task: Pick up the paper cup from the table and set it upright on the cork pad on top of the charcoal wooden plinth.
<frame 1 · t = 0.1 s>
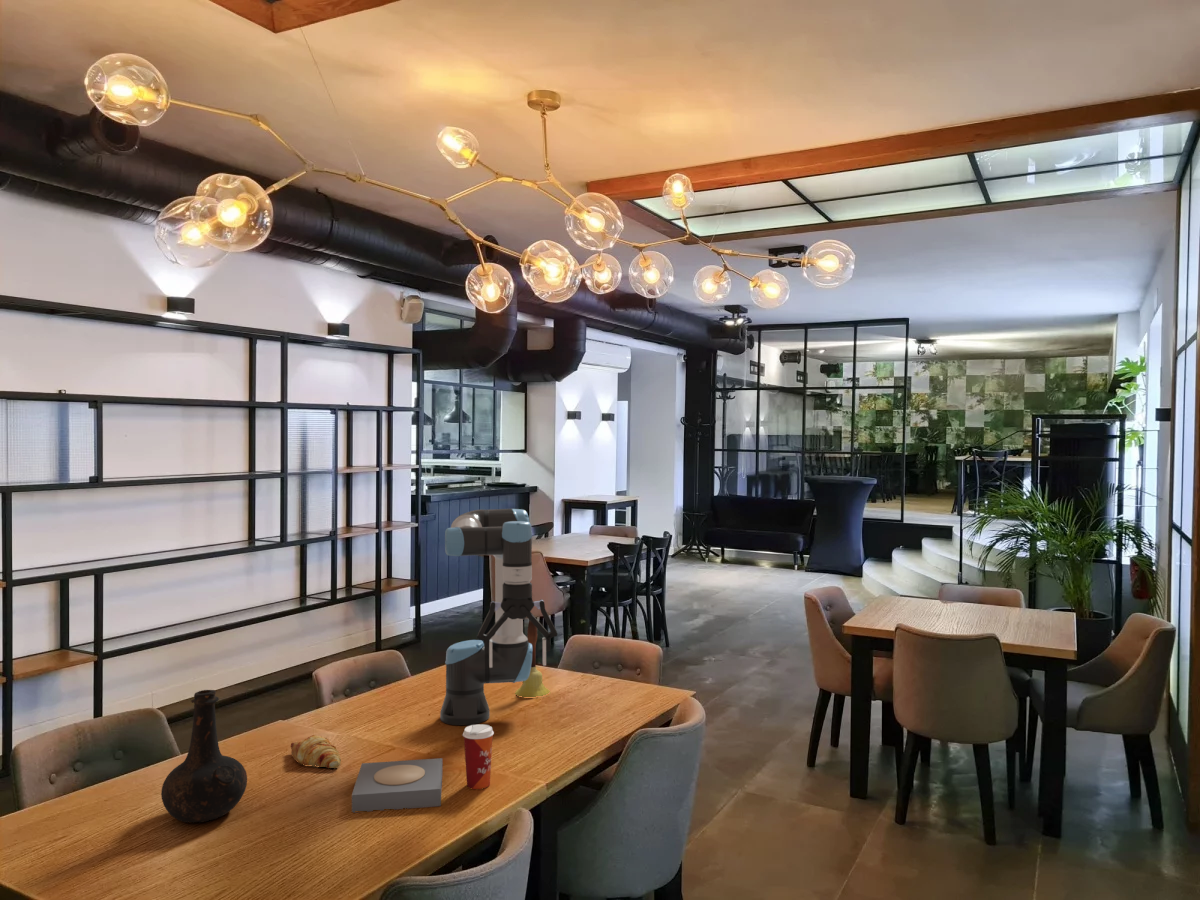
hand: (517, 665, 213), 28 cm above the table, tool pointing down, fingers open, 13 cm apart
paper cup: (478, 785, 207), on the table
croissant: (314, 763, 223), on the table
handbell: (532, 694, 286), on the table
plinth: (399, 792, 203), on the table
glass bottle: (205, 815, 191), on the table
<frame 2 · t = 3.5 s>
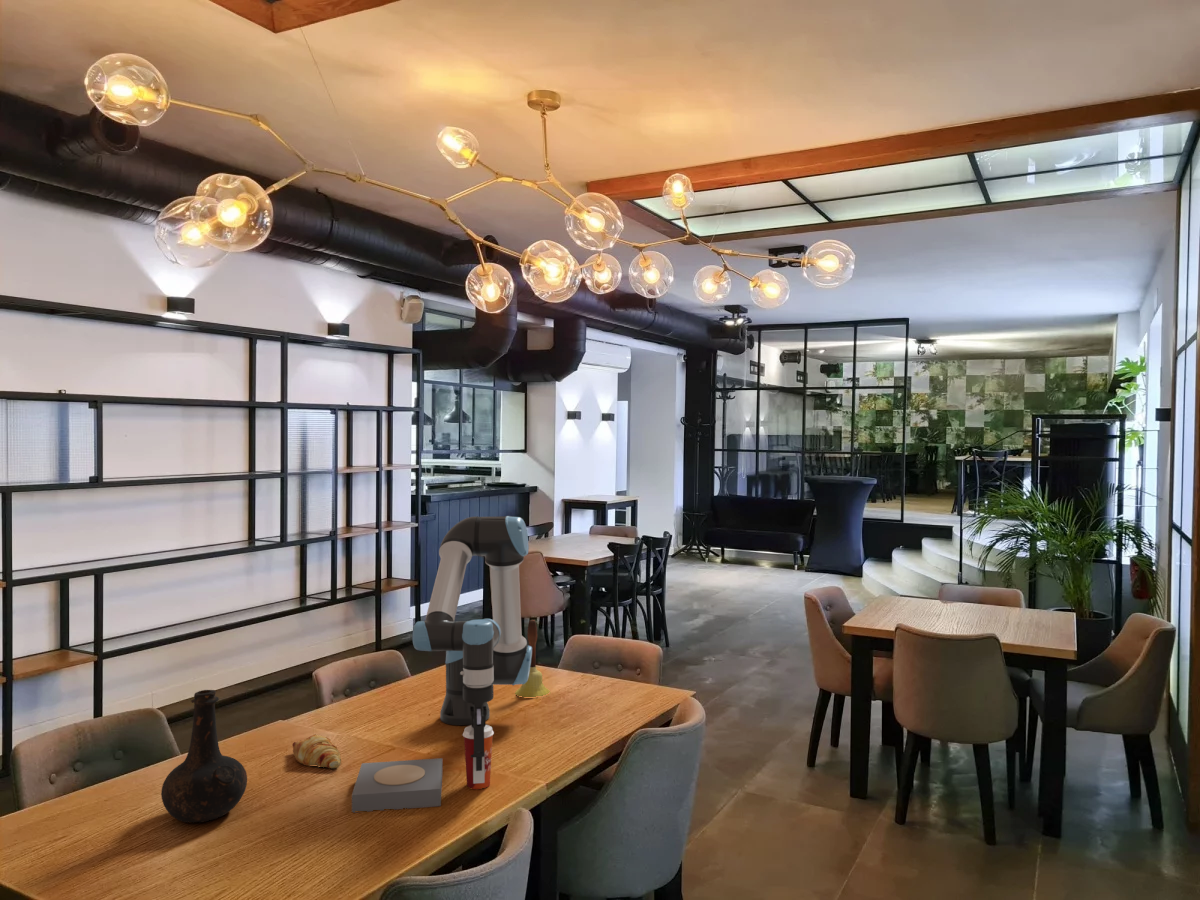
hand: (478, 776, 207), 2 cm above the table, tool pointing down, fingers closed on paper cup, 7 cm apart
paper cup: (478, 785, 207), on the table, touching gripper
everything else where it was.
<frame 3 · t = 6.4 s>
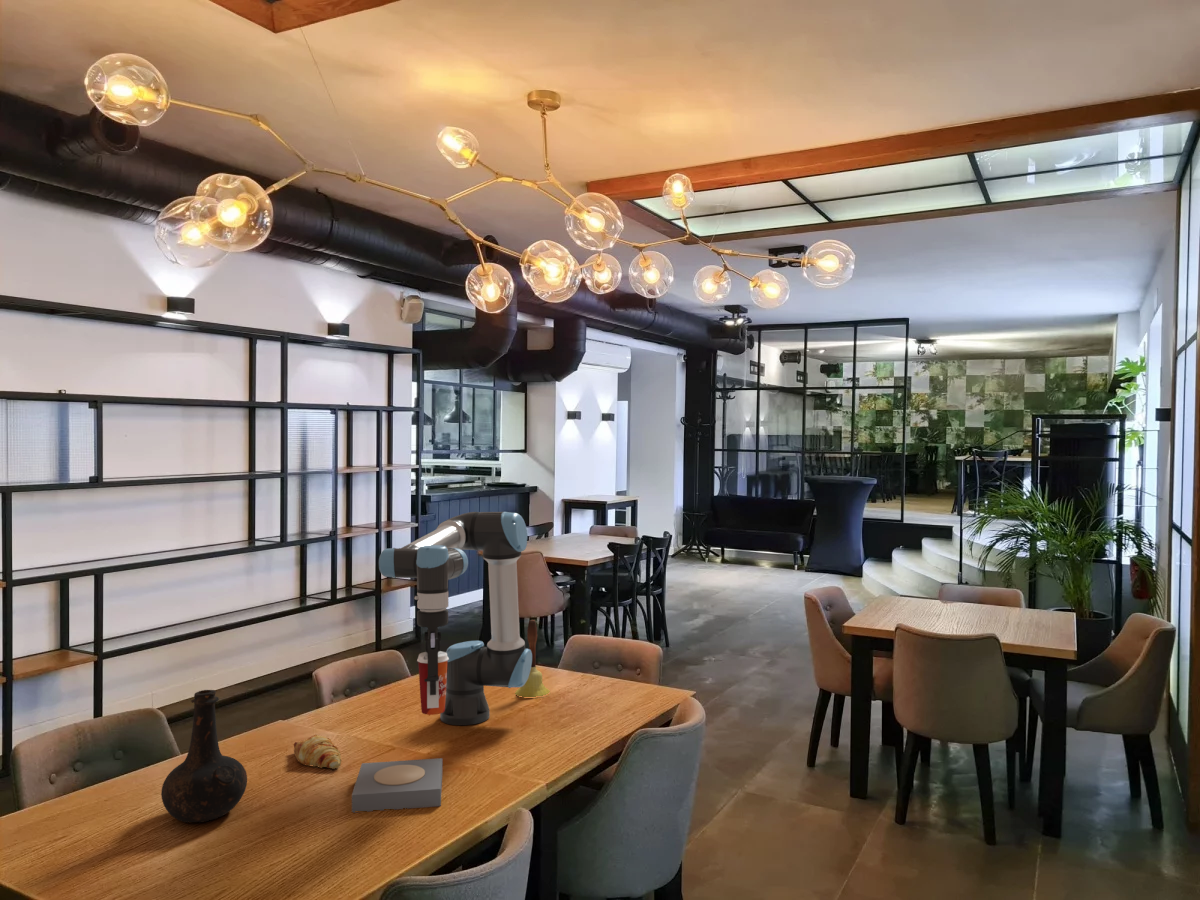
hand: (433, 702, 204), 21 cm above the table, tool pointing down, fingers closed on paper cup, 7 cm apart
paper cup: (433, 712, 205), point 19 cm above the table, touching gripper
everything else where it was.
when the fingers open (7 cm above the table, at t = 9.2 s): paper cup stays where it is, resting on plinth.
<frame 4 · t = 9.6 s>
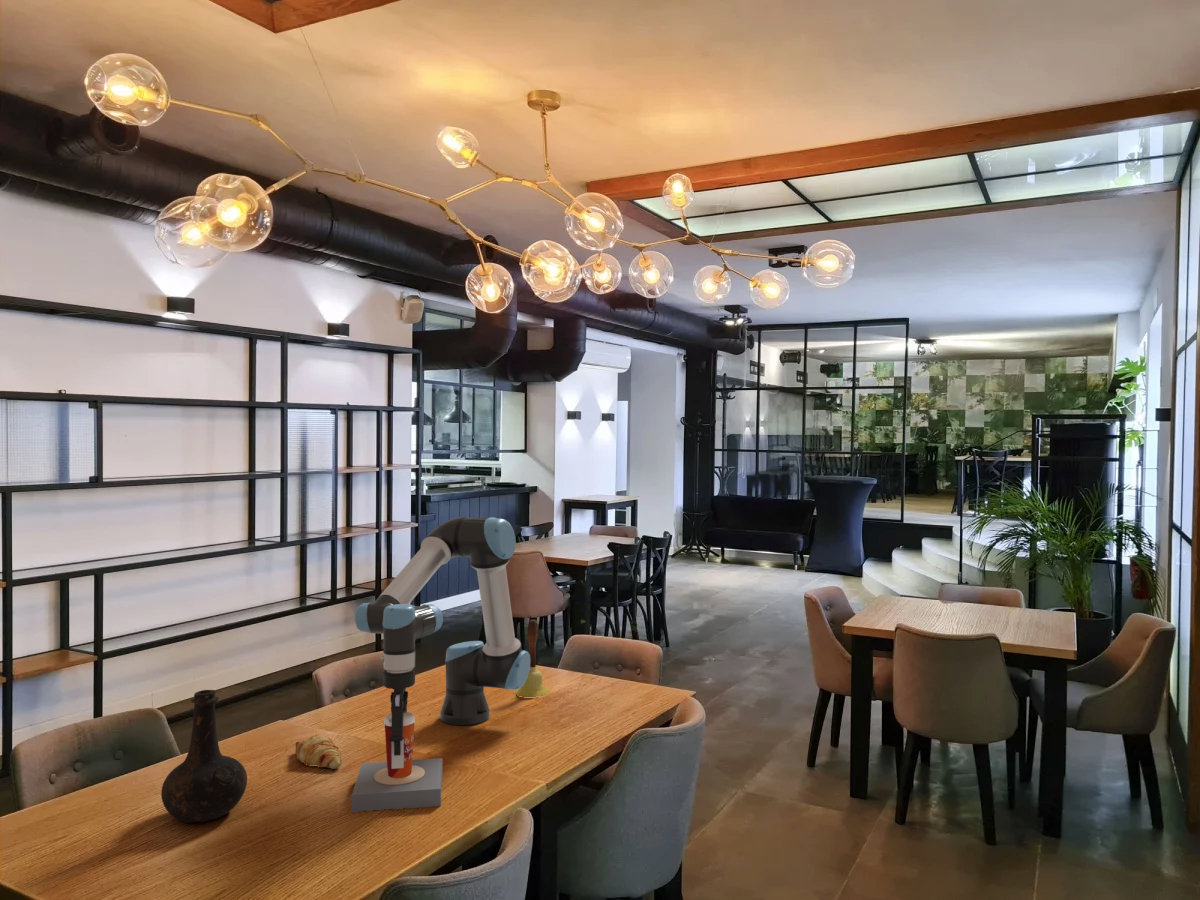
hand: (399, 758, 203), 8 cm above the table, tool pointing down, fingers open, 12 cm apart
paper cup: (399, 774, 203), point 4 cm above the table, touching plinth
everything else where it was.
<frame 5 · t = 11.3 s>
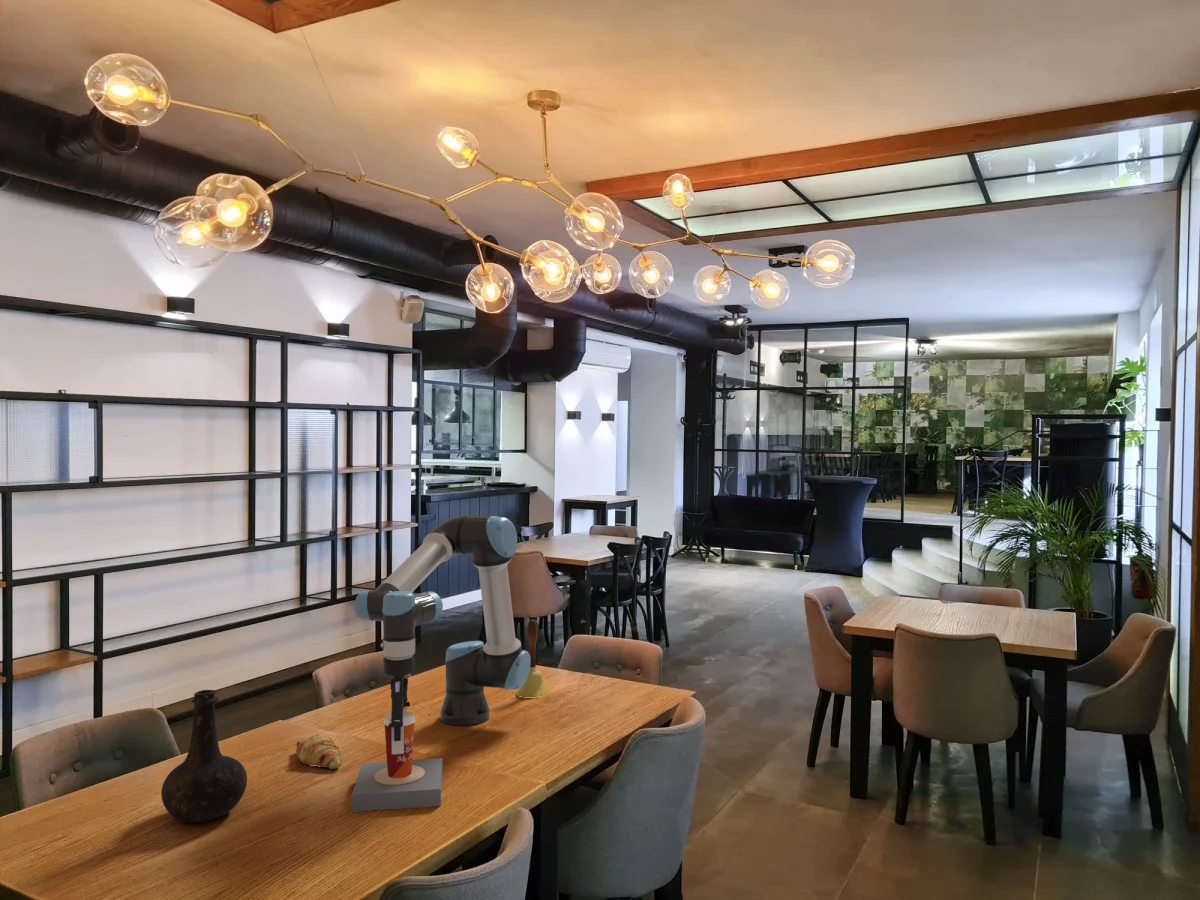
hand: (399, 743, 203), 12 cm above the table, tool pointing down, fingers open, 13 cm apart
nothing on the table moved.
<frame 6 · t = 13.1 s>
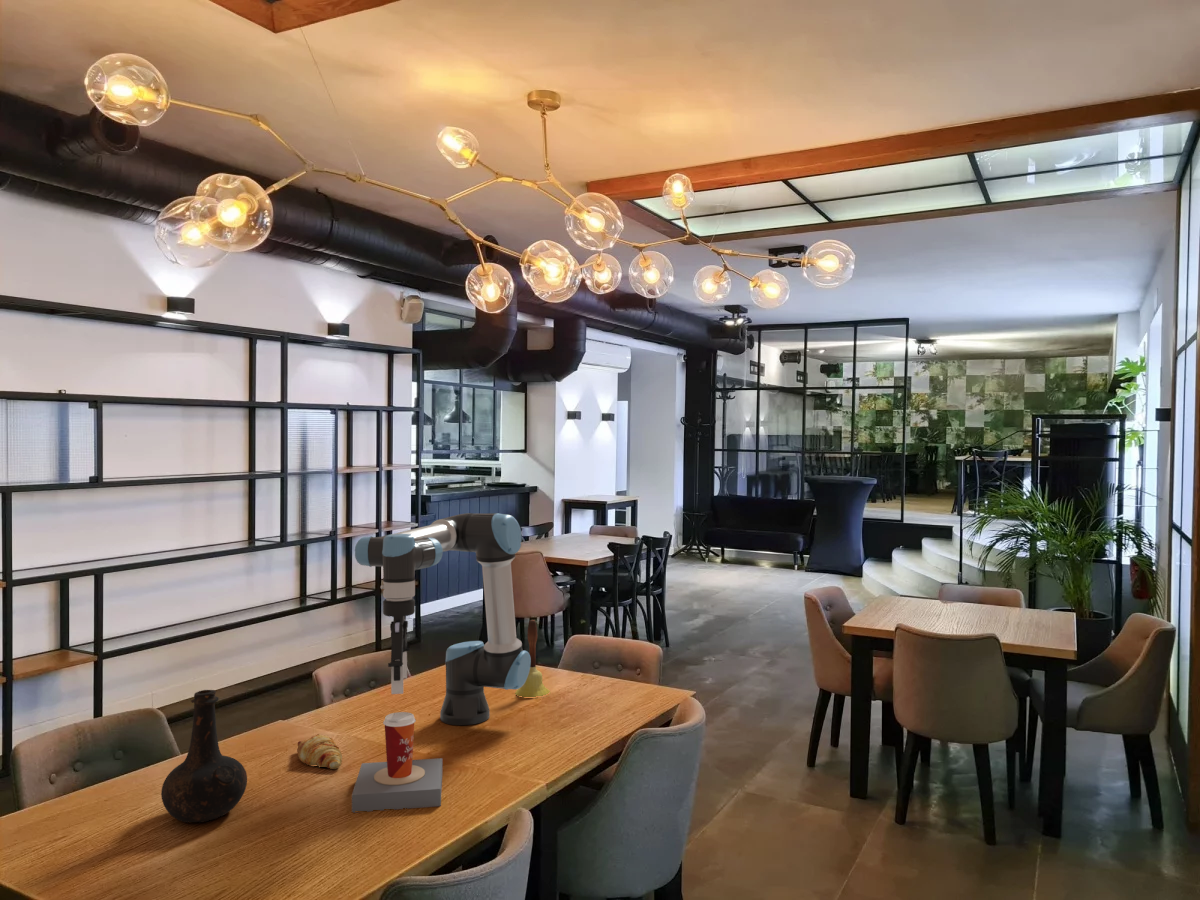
hand: (399, 685, 203), 26 cm above the table, tool pointing down, fingers open, 13 cm apart
nothing on the table moved.
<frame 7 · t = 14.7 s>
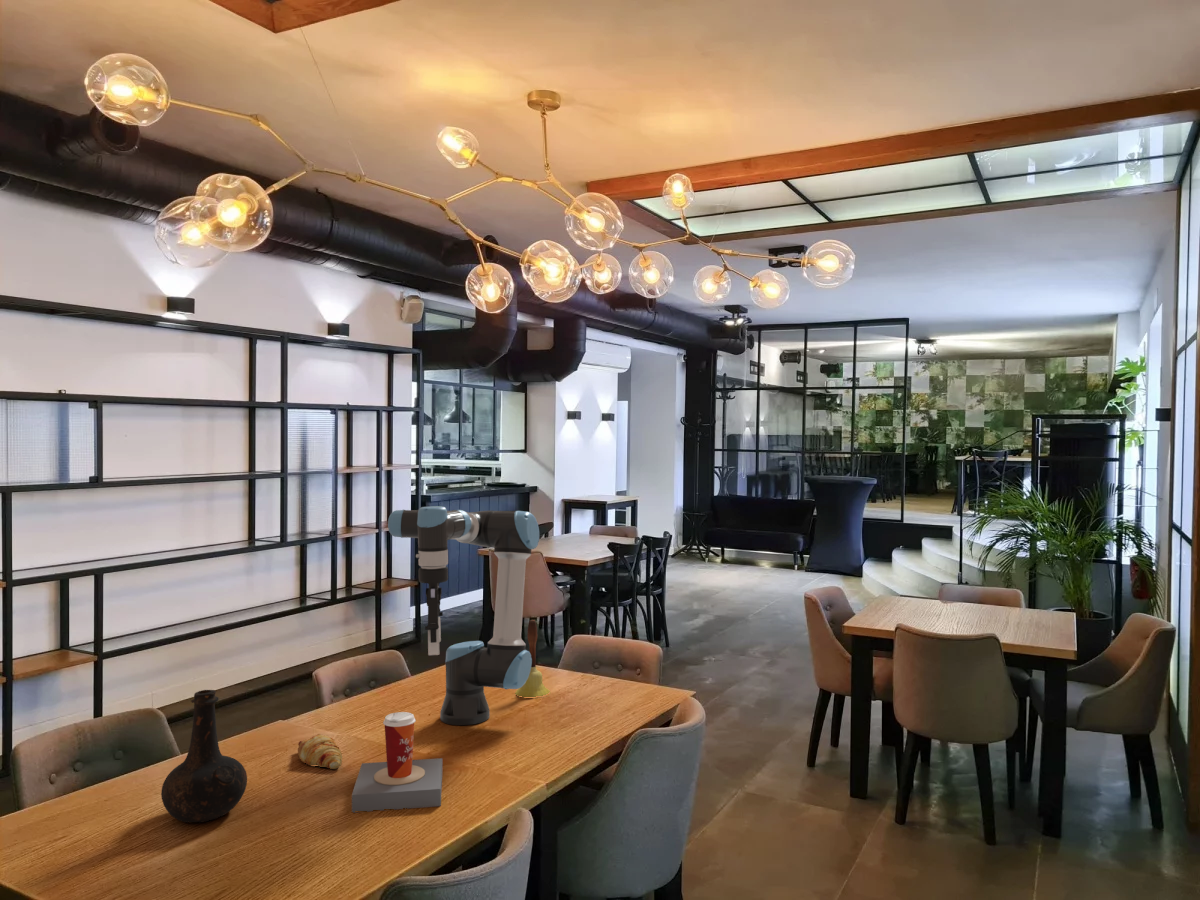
hand: (434, 648, 217), 32 cm above the table, tool pointing down, fingers open, 13 cm apart
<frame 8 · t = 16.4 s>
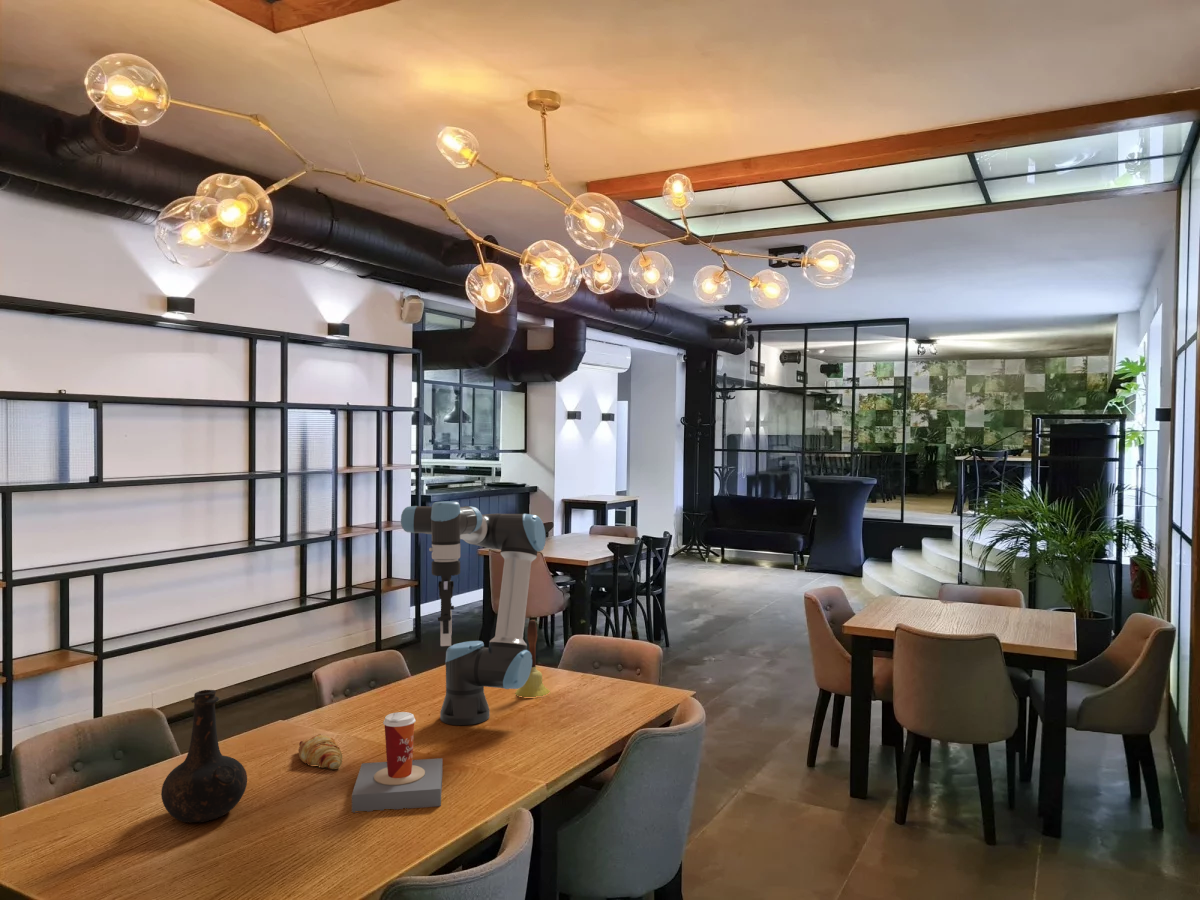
hand: (446, 640, 222), 33 cm above the table, tool pointing down, fingers open, 13 cm apart
at the end: paper cup inside the target area on the plinth (0.1 cm from its centre), point 4.2 cm above the plinth's base; paper cup tilted 0°; the gripper is holding nothing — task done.
